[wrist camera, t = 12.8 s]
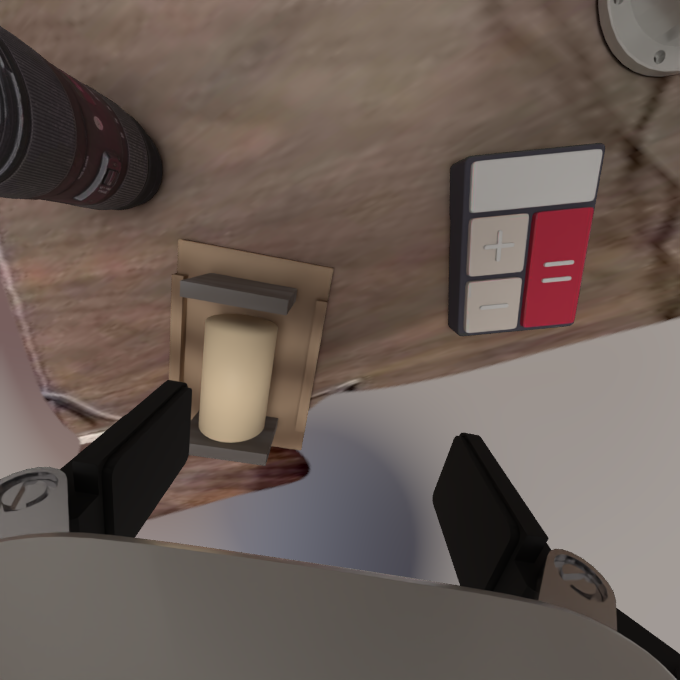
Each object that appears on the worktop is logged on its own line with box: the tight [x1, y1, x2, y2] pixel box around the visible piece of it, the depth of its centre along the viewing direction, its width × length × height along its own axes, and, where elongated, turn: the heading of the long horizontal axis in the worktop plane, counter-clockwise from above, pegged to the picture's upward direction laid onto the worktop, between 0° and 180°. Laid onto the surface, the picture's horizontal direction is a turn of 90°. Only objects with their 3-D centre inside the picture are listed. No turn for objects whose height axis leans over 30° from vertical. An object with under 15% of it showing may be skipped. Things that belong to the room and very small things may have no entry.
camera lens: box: [0, 26, 162, 210], centre depth 20 cm, size 8×8×15 cm
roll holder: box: [169, 239, 333, 466], centre depth 29 cm, size 20×14×7 cm
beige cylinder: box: [199, 314, 278, 443], centre depth 29 cm, size 10×6×6 cm
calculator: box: [448, 143, 605, 336], centre depth 28 cm, size 11×4×15 cm
